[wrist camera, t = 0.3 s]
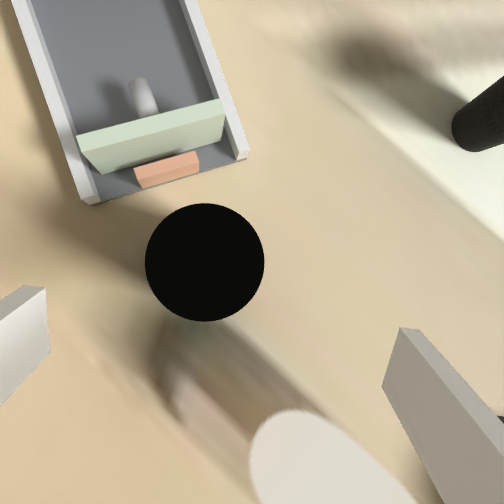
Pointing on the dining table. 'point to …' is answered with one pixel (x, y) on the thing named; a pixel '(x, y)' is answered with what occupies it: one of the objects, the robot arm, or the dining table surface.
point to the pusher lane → (126, 81)
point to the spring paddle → (152, 132)
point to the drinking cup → (481, 120)
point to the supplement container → (204, 262)
